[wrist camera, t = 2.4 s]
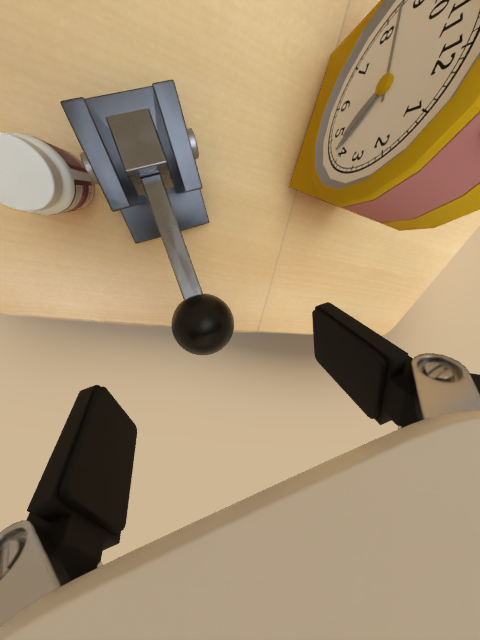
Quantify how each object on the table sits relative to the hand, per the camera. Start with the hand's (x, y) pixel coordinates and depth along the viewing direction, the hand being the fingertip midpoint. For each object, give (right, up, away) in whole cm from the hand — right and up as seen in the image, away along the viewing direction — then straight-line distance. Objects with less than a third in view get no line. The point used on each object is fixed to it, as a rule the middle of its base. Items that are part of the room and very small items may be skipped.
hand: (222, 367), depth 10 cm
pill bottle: (-15, +15, +10) cm, 24 cm away
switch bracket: (-8, +16, +12) cm, 22 cm away
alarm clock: (+11, +22, +15) cm, 29 cm away
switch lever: (-3, +6, +5) cm, 9 cm away
